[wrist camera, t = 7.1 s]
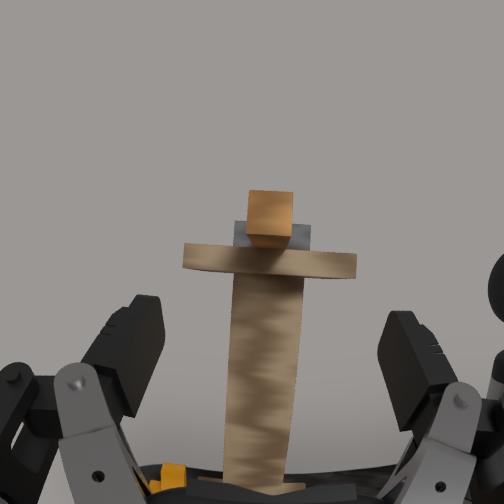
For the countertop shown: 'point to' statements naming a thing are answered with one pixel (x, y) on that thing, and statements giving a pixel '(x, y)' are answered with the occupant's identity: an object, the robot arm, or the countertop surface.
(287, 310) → the stand
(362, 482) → the countertop surface
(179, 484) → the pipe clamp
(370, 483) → the countertop surface
